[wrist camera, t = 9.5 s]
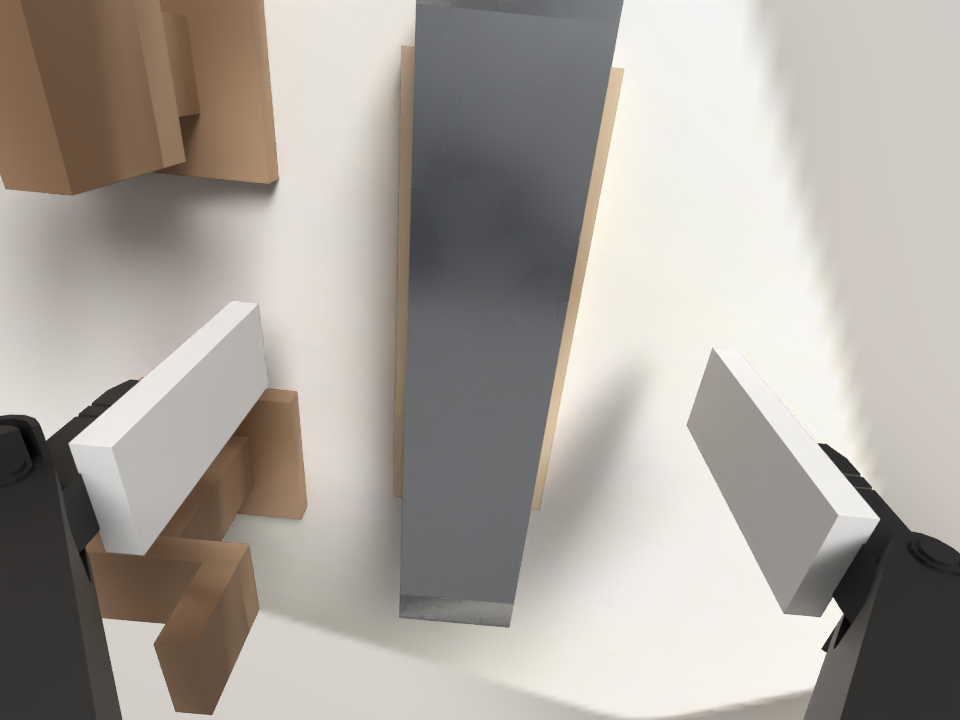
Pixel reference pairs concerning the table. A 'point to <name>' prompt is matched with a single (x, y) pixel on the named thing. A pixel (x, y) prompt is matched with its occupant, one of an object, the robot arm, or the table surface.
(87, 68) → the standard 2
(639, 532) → the table surface
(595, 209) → the light wooden board
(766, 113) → the table surface
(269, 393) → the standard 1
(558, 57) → the rail
